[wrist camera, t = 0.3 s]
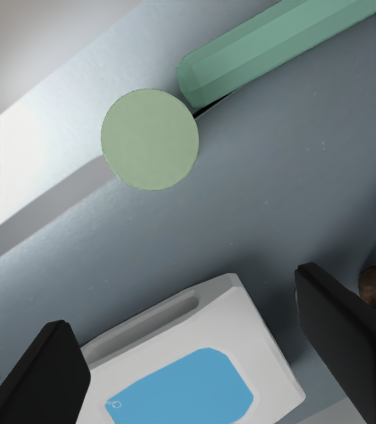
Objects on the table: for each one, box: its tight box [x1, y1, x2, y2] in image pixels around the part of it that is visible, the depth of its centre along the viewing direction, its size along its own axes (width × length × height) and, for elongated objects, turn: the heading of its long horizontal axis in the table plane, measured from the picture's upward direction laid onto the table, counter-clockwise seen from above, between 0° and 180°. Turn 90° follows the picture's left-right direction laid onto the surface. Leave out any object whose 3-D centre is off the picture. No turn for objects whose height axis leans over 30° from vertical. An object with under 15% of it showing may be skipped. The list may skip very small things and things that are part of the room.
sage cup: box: [101, 89, 199, 190], centre depth 22 cm, size 7×7×10 cm
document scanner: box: [76, 273, 306, 424], centre depth 32 cm, size 21×28×6 cm
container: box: [177, 0, 376, 108], centre depth 23 cm, size 6×6×25 cm
